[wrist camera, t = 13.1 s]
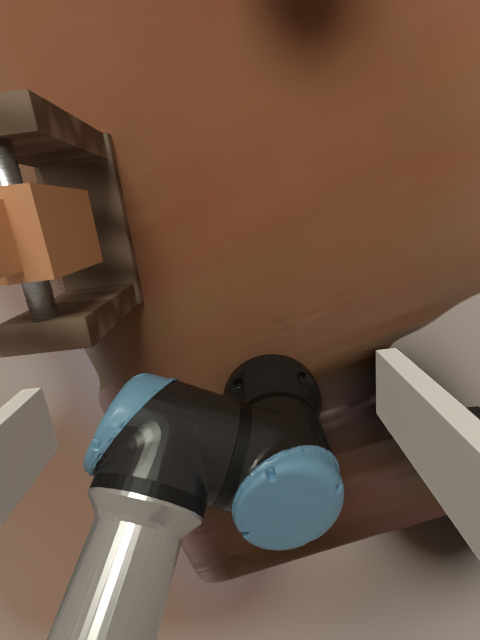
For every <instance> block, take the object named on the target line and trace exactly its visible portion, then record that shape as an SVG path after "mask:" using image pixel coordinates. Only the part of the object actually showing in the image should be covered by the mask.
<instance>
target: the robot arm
mask: <svg viewBox="0 0 480 640" xmlns="http://www.w3.org/2000/svg"><path fill="white" fill-rule="evenodd" d="M320 410H321V395H320V391H319V388H318V385H317V383H316V381H315V379H314V377H313V375H312V374H311V372H310V371H309V370H308V369H307V368H306V367H305V366H304V365H303V364H301V363H300V362H298V361H296V360H294V359H292V358H290V357H287V356H282V355H262V356H258V357H255V358H252V359H250V360H248V361H246V362H244V363H243V364H241V365H240V366H239V367H238V368H237V369H236V370H235V371H234V372H233V373H232V374H231V376H230V377H229V379H228V381H227V383H226V385H225V389H224V394H223V395H220V394H217V393H214V392H211V391H208V390H205V389H202V388H199V387H196V386H193V385H189V384H186V383H183V382H180V381H178V379H176V378H170V379H169V378H165V377H161V376H157V375H153V374H150V373H141V374H138V375H136V376H134V377H133V378H131V379H130V380H129V381H128V382H127V383H126V384H125V385H124V386H123V387H122V389H121V390H120V391H119V393H118V394H117V395H116V397H115V398H114V400H113V401H112V403H111V405H110V406H109V408H108V409H107V411H106V413H105V415H104V417H103V418H102V420H101V422H100V424H99V426H98V428H97V430H96V432H95V434H94V435H95V437H94V439H93V440H92V442H91V444H90V446H89V448H88V450H87V452H86V456H85V459H84V469H85V471H87V472H88V473H89V475H90V476H94V475H95V476H94V479H93V481H92V483H91V486H90V488H89V491H88V496H89V498H90V501H91V504H92V506H93V509H94V514H95V519H94V521H93V524H92V526H91V529H90V531H89V534H88V536H87V539H86V542H85V544H84V546H83V549H82V551H81V554H80V557H79V559H78V562H77V564H76V567H75V569H74V572H73V574H72V577H71V579H70V582H69V585H68V587H67V590H66V592H65V595H64V597H63V600H62V602H61V605H60V607H59V610H58V612H57V615H56V618H55V620H54V623H53V625H52V628H51V630H50V633H49V636H48V638H47V640H157V636H158V632H159V628H160V624H161V620H162V616H163V613H164V609H165V605H166V601H167V597H168V593H169V589H170V585H171V581H172V577H173V573H174V569H175V566H176V561H177V558H178V554H179V550H180V546H181V542H182V540H183V539H184V537H185V536H186V535H187V534H188V533H190V532H191V531H193V530H194V529H195V528H197V527H198V526H199V525H201V524H202V521H203V517H204V513H205V509H206V505H207V506H211V507H214V508H218V509H221V510H224V511H228V512H232V517H233V521H234V523H235V525H236V527H237V529H238V531H239V532H242V535H243V537H244V538H245V539H246V540H247V541H248V542H250V543H251V544H253V545H255V546H257V547H260V548H264V549H268V550H288V549H294V548H297V547H301V546H303V545H305V544H306V543H308V542H310V541H312V540H315V539H317V538H319V537H320V536H321V535H323V534H324V533H325V532H326V531H327V530H328V529H329V528H330V527H331V526H332V525H333V524H334V522H335V521H336V519H337V518H338V516H339V514H340V512H341V509H342V506H343V501H344V486H343V482H342V479H341V476H340V470H339V464H338V462H337V459H336V458H335V456H334V454H333V451H332V449H331V447H330V444H329V442H328V440H327V437H326V435H325V433H324V431H323V428H322V426H321V424H320V421H319V416H320ZM376 413H377V415H378V416H379V418H380V419H381V420H382V422H383V423H384V425H385V426H386V428H387V429H388V430H389V432H390V433H391V435H392V436H393V438H394V439H395V440H396V442H397V443H398V445H399V446H400V448H401V449H402V450H403V452H404V453H405V455H406V456H407V458H408V459H409V461H410V462H411V463H412V465H413V466H414V468H415V469H416V471H417V472H418V473H419V475H420V476H421V478H422V479H423V481H424V482H425V483H426V485H427V486H428V488H429V489H430V491H431V492H432V493H433V495H434V496H435V498H436V499H437V501H438V502H439V503H440V505H441V506H442V508H443V509H444V511H445V512H446V513H447V515H448V516H449V518H450V519H451V521H452V522H453V524H454V525H455V526H456V528H457V529H458V531H459V532H460V534H461V535H462V536H463V538H464V539H465V541H466V542H467V544H468V545H469V546H470V548H471V549H472V551H473V552H474V554H475V555H476V556H477V558H478V559H479V561H480V407H478V406H476V407H468V408H465V407H464V406H463V405H462V404H461V403H459V402H458V401H457V400H456V399H454V397H453V396H451V395H450V394H449V393H448V392H447V391H446V390H444V389H443V388H442V387H441V386H440V385H438V384H437V383H436V382H435V381H434V380H433V379H431V378H430V377H429V376H428V375H427V374H425V373H424V372H423V371H422V370H421V369H420V368H418V367H417V366H416V365H415V364H414V363H413V362H412V361H410V360H409V359H408V358H407V357H406V356H404V355H403V354H402V353H401V352H400V351H399V350H397V349H396V348H392V349H383V350H376ZM59 447H60V446H59V443H58V440H57V436H56V433H55V430H54V427H53V423H52V420H51V417H50V413H49V410H48V407H47V403H46V400H45V397H44V394H43V391H42V388H41V387H40V388H31V389H23V390H22V391H20V392H19V393H18V394H17V395H15V396H14V397H13V398H12V399H11V400H9V401H8V402H7V403H6V404H5V405H3V406H2V407H1V408H0V526H1V525H2V524H3V522H4V521H5V520H6V518H7V517H8V516H9V514H10V513H11V512H12V510H13V509H14V507H15V506H16V505H17V504H18V502H19V501H20V500H21V498H22V497H23V496H24V494H25V493H26V491H27V490H28V489H29V488H30V486H31V485H32V483H33V482H34V481H35V479H36V478H37V477H38V475H39V474H40V472H41V471H42V470H43V469H44V467H45V466H46V465H47V463H48V462H49V461H50V459H51V458H52V457H53V455H54V454H55V453H56V451H57V450H58V449H59Z"/></svg>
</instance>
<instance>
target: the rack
mask: <svg viewBox="0 0 480 640" xmlns="http://www.w3.org/2000/svg"><path fill="white" fill-rule="evenodd" d="M18 164H23V165H27V166H32V167H34V169H35V172H36V176H37V180H38V184H43V185H51V186H59V187H67V188H74V189H82V190H87V191H88V196H89V200H90V205H91V209H92V213H93V218H94V222H95V227H96V231H97V236H98V240H99V245H100V249H101V254H102V258H103V262H101V263H98V264H95V265H92V266H90V267H87V268H84V269H82V270H79V271H76V272H74V273H71V274H68V275H66V276H63V281H64V284H65V288H66V293H64V294H62V295H59V296H57V297H55V298H54V295H53V292H52V288H51V284H50V280H46V281H37V282H28V283H21V285H22V288H23V292H24V295H25V298H26V302H27V305H28V308H29V310H28V311H26V312H24V313H22V314H20V315H18V316H16V317H14V318H12V319H10V320H8V321H6V322H4V323H1V324H0V356H1V357H10V356H19V355H27V354H36V353H45V352H54V351H63V350H72V349H81V348H89V347H93V346H94V345H95V344H96V343H97V342H98V341H99V340H100V339H101V338H102V337H103V336H104V335H105V334H106V333H107V332H109V331H110V330H111V329H112V328H113V327H114V326H115V325H116V324H117V323H118V322H119V321H120V320H121V319H122V318H123V317H124V316H125V315H126V314H127V313H128V312H130V311H131V310H132V309H133V308H134V307H135V306H136V305H137V304H141V303H142V302H143V296H142V291H141V286H140V281H139V276H138V271H137V265H136V260H135V255H134V250H133V245H132V240H131V235H130V230H129V225H128V220H127V215H126V210H125V205H124V200H123V195H122V189H121V184H120V179H119V174H118V169H117V164H116V159H115V154H114V149H113V144H112V139H111V135H110V134H108V133H102V132H100V131H98V130H96V129H95V128H93V127H91V126H90V125H88V124H86V123H85V122H83V121H81V120H79V119H78V118H76V117H74V116H73V115H71V114H69V113H67V112H66V111H64V110H62V109H61V108H59V107H57V106H56V105H54V104H52V103H50V102H49V101H47V100H45V99H44V98H42V97H40V96H39V95H37V94H35V93H33V92H32V91H30V90H28V89H25V90H17V91H9V92H2V93H0V186H6V185H14V184H22V183H23V181H22V177H21V173H20V170H19V166H18Z"/></svg>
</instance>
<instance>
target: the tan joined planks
mask: <svg viewBox="0 0 480 640" xmlns="http://www.w3.org/2000/svg"><path fill="white" fill-rule="evenodd" d="M101 262H103V258H102V254H101V249H100V245H99V240H98V236H97V231H96V227H95V222H94V218H93V213H92V209H91V205H90V200H89V196H88V191H87V190H82V189H74V188H67V187H59V186H51V185H43V184H36V183H22V184H14V185H6V186H0V286H2V285H11V284H19V283H28V282H37V281H46V280H54V279H57V278H60V277H63V276H66V275H68V274H71V273H74V272H76V271H79V270H82V269H84V268H87V267H90V266H92V265H95V264H98V263H101Z"/></svg>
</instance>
